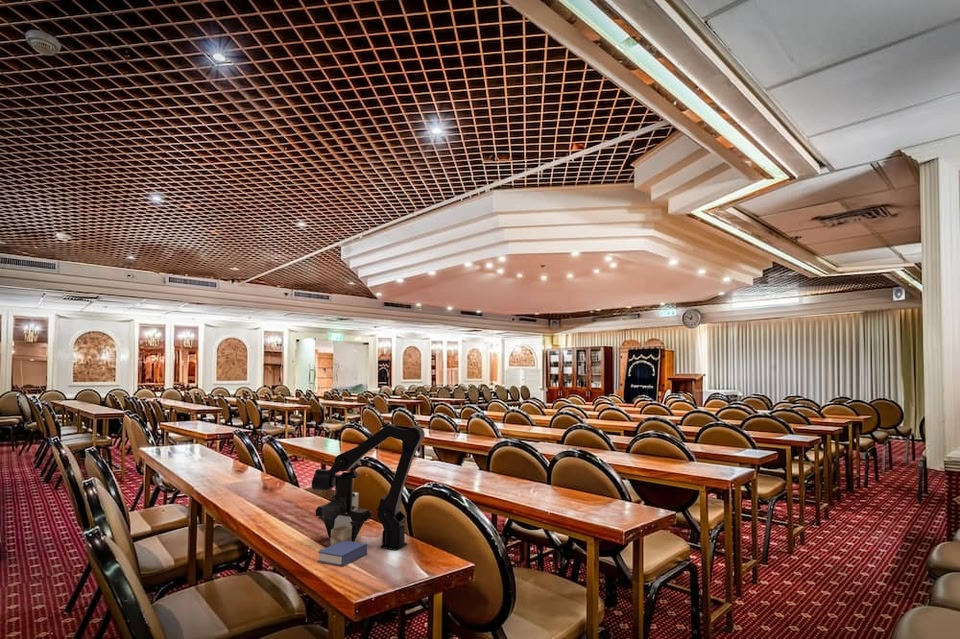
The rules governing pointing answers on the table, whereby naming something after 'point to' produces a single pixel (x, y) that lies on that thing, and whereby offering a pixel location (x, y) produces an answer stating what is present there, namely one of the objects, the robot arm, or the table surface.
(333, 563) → the navy book
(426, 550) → the table surface
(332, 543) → the beech block
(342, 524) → the supplement box
